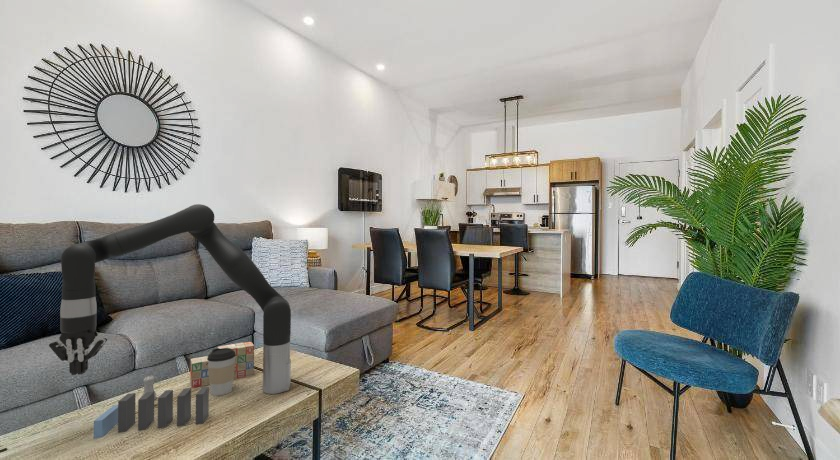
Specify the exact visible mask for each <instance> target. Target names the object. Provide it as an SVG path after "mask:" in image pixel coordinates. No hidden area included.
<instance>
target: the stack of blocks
mask: <svg viewBox="0 0 840 460" xmlns="http://www.w3.org/2000/svg"><path fill="white" fill-rule="evenodd" d="M217 348H219V349H221V348H231V349H232V350H233V351H235V354H236V356H235V368H234V378H233V380H237V379H242V378H247V377H251V376H254V374H255V370H254V369H255V367H254V366H255V345H254V344H253V342H252V341H246V342H237V343H231V344H227V345H226V344H225V345H220V346H217ZM207 358H208V355H206V356H201V357H195V358H194V357H193V358H190V370H189V371H190V374H189V375H190V379H189V381H190V388H191V389H194V388H198V387H206V386H210V383H209V373H208V360H207Z"/></svg>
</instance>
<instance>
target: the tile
mask: <svg viewBox="0 0 840 460" xmlns="http://www.w3.org/2000/svg"><path fill="white" fill-rule="evenodd" d="M117 425H118V404H115V405H114V404H113V405H112V406H111V407H109V408H108V409H107V410H105V412H103V413H102V414H101V415H99V416H98V417H97V418H96V419H94V420H93V439H99V438H100V439H101V438H103V437H104V436H106V435H107V434H108V432H110V431H112V429H113V428H114V427H116V426H117Z"/></svg>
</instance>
